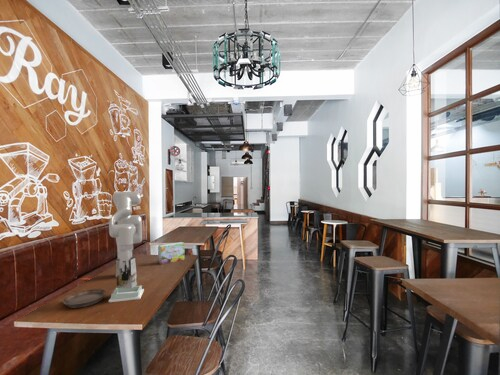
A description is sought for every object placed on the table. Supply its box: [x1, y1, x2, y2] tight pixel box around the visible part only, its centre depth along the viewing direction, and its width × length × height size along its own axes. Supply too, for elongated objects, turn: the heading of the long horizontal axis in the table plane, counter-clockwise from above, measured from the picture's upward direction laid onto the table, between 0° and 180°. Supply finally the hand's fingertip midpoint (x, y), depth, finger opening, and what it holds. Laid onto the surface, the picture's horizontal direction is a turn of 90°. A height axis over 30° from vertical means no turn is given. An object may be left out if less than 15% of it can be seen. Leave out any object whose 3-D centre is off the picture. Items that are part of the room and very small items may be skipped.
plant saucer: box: [62, 288, 107, 309], centre depth 149 cm, size 21×21×3 cm
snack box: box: [157, 241, 185, 265], centre depth 226 cm, size 21×6×15 cm, turn 131°
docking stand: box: [108, 285, 145, 303], centre depth 154 cm, size 13×16×4 cm
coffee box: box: [115, 256, 138, 288], centre depth 154 cm, size 9×6×16 cm
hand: (126, 277), depth 154 cm, fingers closed on coffee box, 7 cm apart
